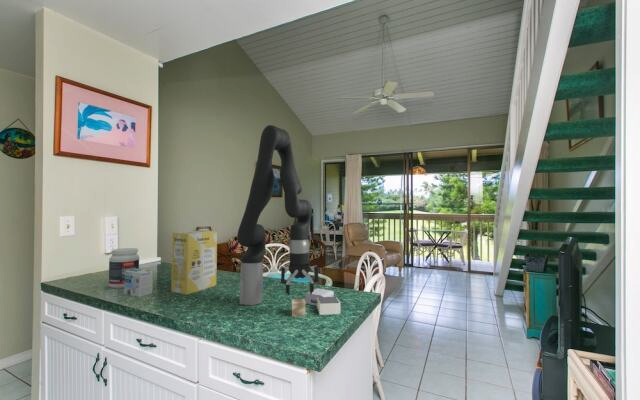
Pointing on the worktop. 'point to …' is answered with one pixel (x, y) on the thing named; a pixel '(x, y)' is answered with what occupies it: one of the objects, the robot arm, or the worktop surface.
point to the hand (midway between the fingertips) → (299, 293)
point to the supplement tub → (122, 265)
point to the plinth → (328, 305)
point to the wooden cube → (298, 307)
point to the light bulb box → (138, 282)
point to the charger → (317, 295)
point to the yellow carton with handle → (193, 261)
